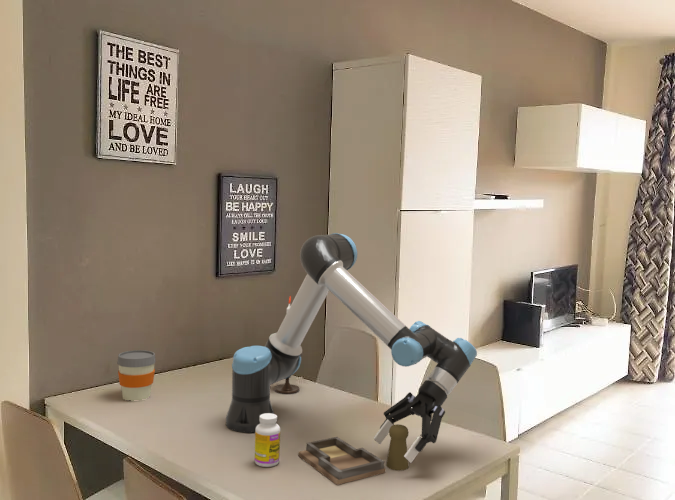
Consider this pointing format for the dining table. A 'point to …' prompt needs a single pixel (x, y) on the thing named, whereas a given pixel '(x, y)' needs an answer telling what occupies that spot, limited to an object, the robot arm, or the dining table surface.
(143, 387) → the reusable coffee cup
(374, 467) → the keyhole board
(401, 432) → the olive tall rounded piece
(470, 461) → the dining table surface
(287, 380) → the candlestick
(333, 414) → the dining table surface
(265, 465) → the supplement bottle
